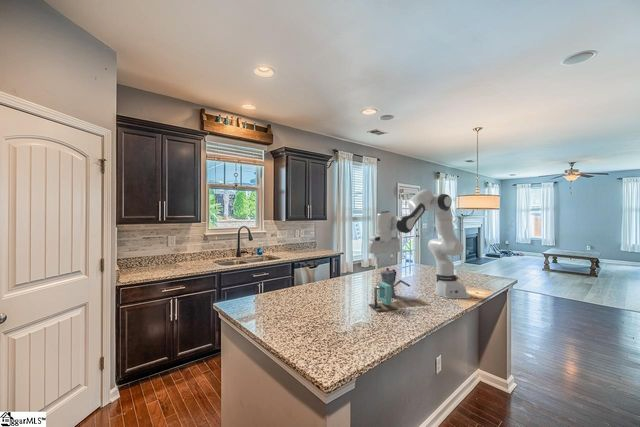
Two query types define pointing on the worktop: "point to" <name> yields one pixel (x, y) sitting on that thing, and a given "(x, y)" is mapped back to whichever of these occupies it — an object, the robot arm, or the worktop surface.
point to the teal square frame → (387, 293)
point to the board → (400, 305)
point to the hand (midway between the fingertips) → (384, 260)
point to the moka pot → (389, 279)
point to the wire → (383, 288)
